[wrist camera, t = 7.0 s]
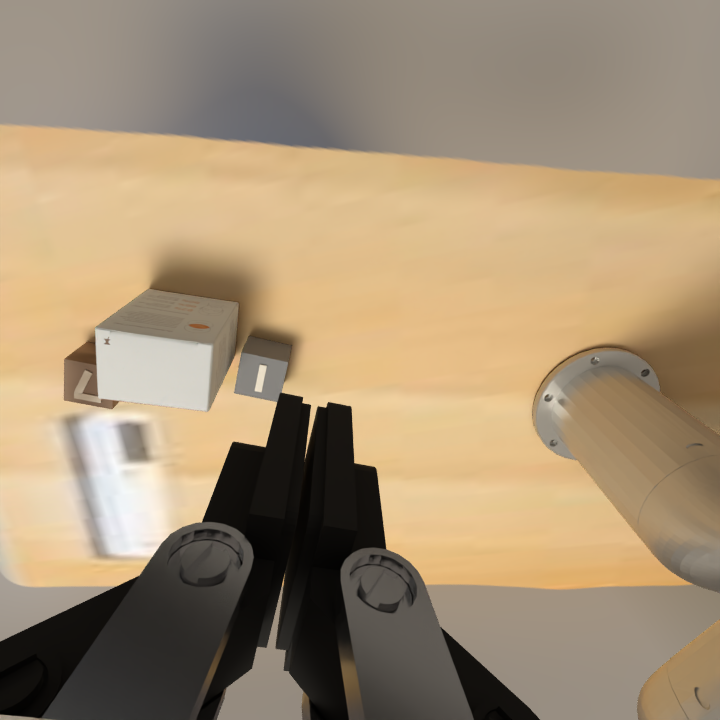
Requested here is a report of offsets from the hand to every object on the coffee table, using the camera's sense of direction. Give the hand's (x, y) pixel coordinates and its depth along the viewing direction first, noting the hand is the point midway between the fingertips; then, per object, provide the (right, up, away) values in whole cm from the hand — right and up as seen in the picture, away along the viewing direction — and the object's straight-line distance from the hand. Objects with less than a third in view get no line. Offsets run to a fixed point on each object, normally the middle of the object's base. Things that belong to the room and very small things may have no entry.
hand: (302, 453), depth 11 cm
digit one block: (-7, +2, +33) cm, 34 cm away
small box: (-14, +6, +31) cm, 35 cm away
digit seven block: (-22, +2, +33) cm, 39 cm away
